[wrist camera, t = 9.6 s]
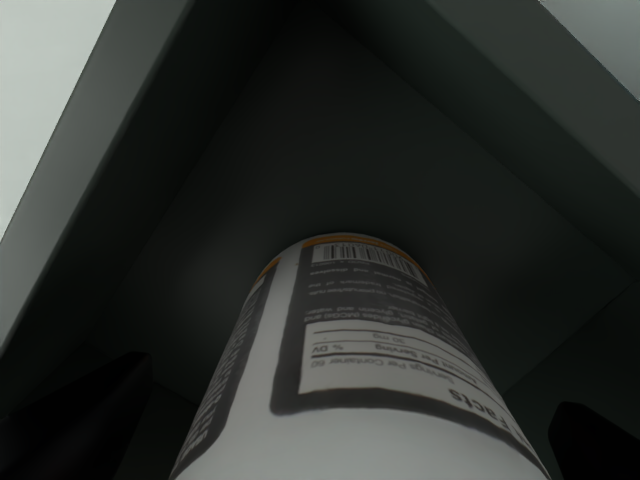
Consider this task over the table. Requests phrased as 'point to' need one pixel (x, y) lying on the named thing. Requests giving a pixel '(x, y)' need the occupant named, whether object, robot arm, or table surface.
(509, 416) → the pill bottle
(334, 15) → the bin
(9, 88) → the table surface
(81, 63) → the table surface
